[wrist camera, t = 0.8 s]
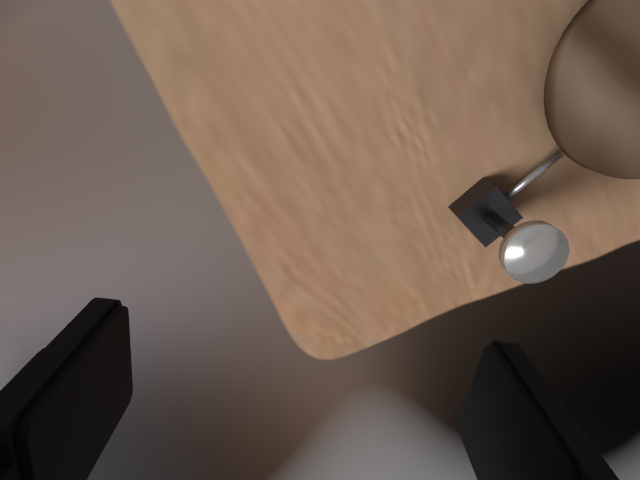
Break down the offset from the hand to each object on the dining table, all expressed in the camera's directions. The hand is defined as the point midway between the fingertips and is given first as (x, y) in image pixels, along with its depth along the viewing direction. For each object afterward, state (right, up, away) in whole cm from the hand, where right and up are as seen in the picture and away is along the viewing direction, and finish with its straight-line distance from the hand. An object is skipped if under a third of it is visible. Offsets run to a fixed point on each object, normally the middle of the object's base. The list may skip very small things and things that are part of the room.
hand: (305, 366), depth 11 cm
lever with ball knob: (+17, +8, +27) cm, 33 cm away
